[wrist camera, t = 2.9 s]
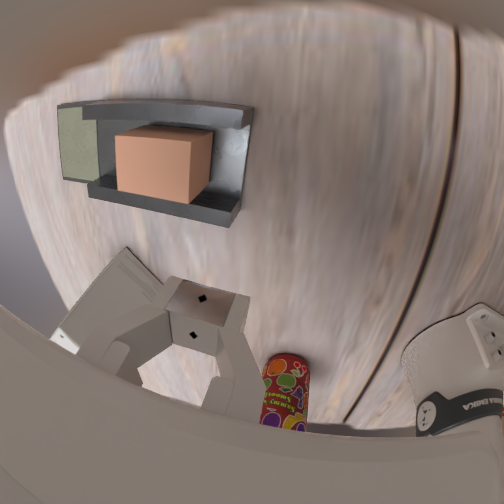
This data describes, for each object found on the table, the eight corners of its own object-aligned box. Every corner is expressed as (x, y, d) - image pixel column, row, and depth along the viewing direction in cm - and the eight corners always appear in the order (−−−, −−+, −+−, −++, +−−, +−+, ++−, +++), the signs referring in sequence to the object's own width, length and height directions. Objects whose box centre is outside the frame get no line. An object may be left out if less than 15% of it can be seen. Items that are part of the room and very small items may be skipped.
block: (213, 131, 22) (191, 142, 18) (208, 184, 25) (188, 204, 21) (144, 125, 22) (115, 135, 19) (144, 173, 25) (117, 190, 22)
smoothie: (301, 343, 35) (274, 488, 19) (324, 373, 39) (306, 497, 22) (250, 353, 39) (211, 478, 23) (277, 380, 42) (249, 492, 26)
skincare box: (109, 262, 36) (45, 336, 24) (128, 244, 33) (54, 326, 21) (148, 303, 38) (97, 383, 26) (171, 290, 35) (116, 381, 23)
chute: (254, 107, 21) (243, 110, 18) (240, 210, 27) (229, 228, 24) (60, 104, 23) (38, 110, 20) (66, 177, 29) (47, 188, 26)
